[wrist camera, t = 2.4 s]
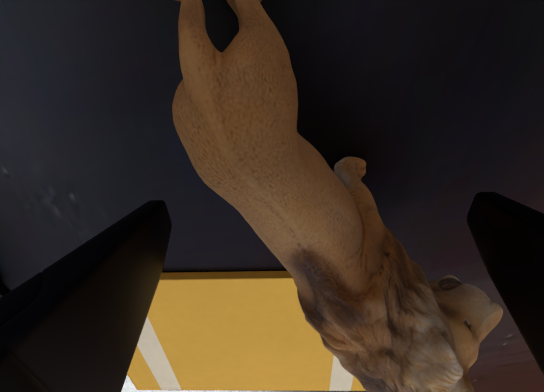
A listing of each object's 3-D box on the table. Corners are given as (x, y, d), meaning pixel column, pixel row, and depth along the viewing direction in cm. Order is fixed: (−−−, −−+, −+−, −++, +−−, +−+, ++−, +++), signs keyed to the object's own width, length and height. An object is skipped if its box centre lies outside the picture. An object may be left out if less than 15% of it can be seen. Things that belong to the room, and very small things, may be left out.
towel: (139, 382, 27) (137, 390, 26) (71, 273, 19) (66, 281, 18) (375, 383, 26) (377, 391, 26) (409, 268, 18) (413, 277, 17)
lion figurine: (433, 202, 15) (574, 413, 8) (341, 252, 17) (386, 457, 10) (201, -104, 9) (-129, -426, 2) (105, 33, 11) (-224, 144, 4)
